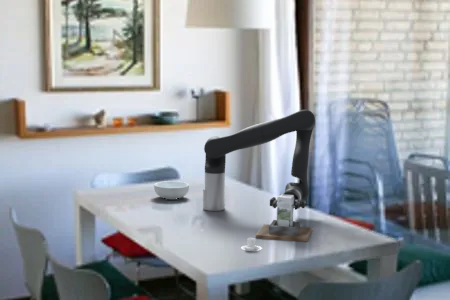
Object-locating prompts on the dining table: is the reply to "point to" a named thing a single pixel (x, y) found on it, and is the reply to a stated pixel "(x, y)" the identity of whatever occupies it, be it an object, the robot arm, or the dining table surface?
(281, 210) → the syrup box
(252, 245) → the teacup and saucer
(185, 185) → the cereal bowl
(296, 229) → the collar board
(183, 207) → the dining table surface
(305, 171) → the robot arm
